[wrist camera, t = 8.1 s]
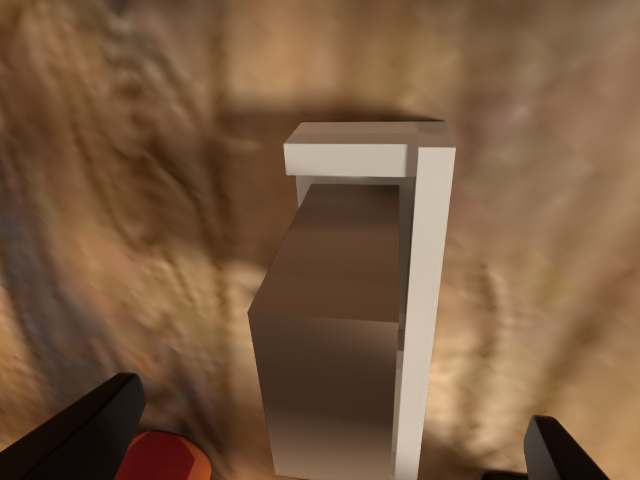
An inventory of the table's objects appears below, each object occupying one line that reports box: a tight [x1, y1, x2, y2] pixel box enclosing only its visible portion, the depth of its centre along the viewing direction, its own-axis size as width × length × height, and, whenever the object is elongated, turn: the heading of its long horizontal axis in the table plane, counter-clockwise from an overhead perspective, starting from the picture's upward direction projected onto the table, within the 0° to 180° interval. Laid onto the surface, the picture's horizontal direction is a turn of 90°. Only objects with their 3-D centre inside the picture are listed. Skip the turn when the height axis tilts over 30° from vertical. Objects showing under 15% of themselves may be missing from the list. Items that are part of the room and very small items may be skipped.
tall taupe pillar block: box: [248, 184, 399, 480], centre depth 12 cm, size 6×3×7 cm, turn 3°
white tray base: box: [284, 121, 456, 480], centre depth 17 cm, size 5×17×3 cm, turn 3°
